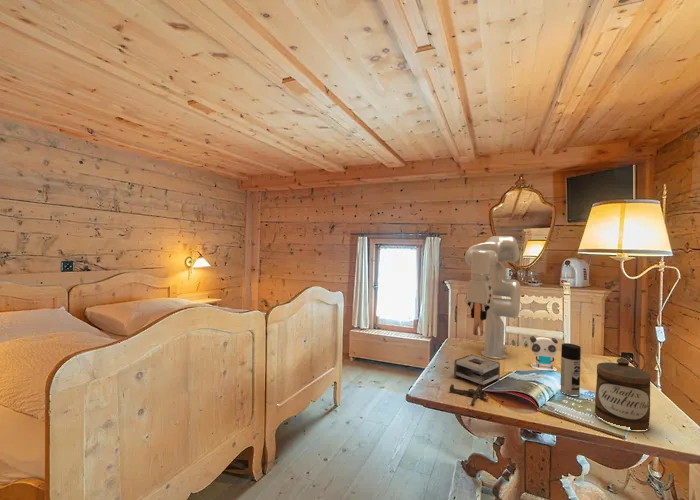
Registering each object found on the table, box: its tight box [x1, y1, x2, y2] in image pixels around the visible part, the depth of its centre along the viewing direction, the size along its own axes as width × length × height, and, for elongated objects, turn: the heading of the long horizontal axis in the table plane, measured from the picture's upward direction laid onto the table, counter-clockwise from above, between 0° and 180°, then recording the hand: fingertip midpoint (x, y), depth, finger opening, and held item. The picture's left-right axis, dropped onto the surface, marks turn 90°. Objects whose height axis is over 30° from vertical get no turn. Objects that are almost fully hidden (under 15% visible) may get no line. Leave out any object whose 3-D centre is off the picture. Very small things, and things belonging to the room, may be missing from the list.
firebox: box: [453, 354, 501, 386], centre depth 151 cm, size 14×14×8 cm
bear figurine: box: [449, 383, 490, 405], centre depth 135 cm, size 18×4×14 cm
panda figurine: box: [529, 335, 559, 372], centre depth 168 cm, size 12×11×15 cm
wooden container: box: [594, 357, 652, 430], centre depth 118 cm, size 15×15×22 cm
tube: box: [472, 302, 484, 337], centre depth 151 cm, size 4×4×17 cm
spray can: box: [560, 342, 582, 396], centre depth 139 cm, size 7×7×20 cm
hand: (478, 318), depth 151 cm, fingers closed on tube, 4 cm apart
